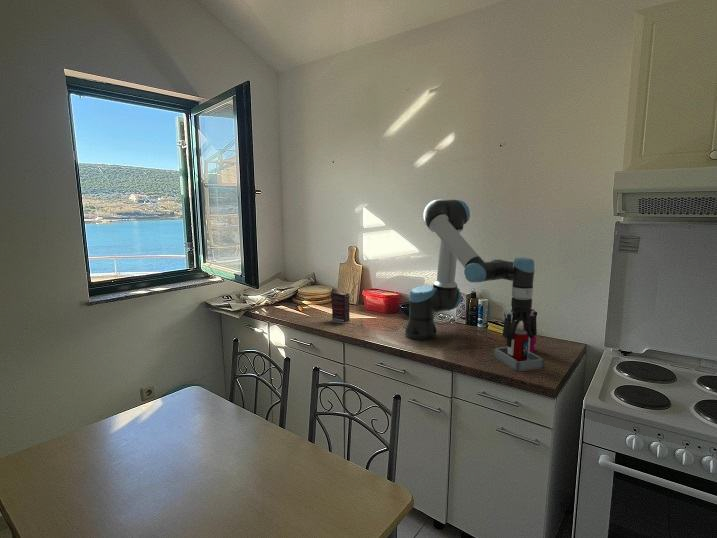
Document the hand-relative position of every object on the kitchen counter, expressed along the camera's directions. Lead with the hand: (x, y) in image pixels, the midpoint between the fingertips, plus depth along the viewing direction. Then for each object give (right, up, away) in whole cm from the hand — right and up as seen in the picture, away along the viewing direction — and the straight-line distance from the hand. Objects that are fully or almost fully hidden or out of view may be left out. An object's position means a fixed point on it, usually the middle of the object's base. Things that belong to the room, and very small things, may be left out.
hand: (518, 353), depth 163 cm
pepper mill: (+9, -2, +14) cm, 17 cm away
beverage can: (0, -3, +1) cm, 3 cm away
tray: (0, -4, +1) cm, 4 cm away
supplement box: (-74, +5, +56) cm, 93 cm away
